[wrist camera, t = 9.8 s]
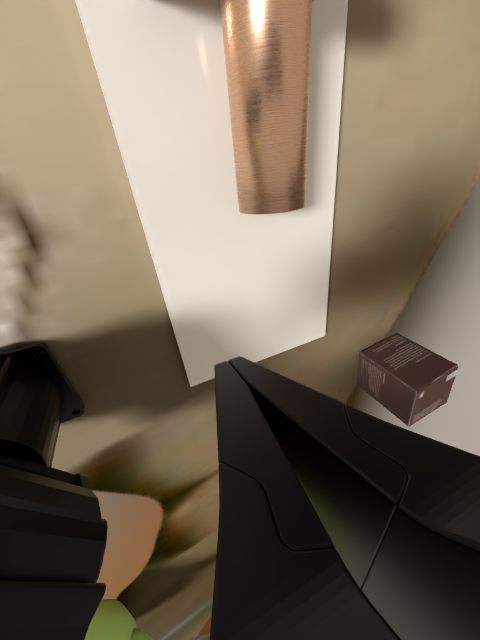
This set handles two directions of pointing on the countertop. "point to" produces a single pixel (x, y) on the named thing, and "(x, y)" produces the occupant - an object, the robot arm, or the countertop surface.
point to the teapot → (114, 623)
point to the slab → (217, 178)
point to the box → (406, 377)
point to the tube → (268, 100)
